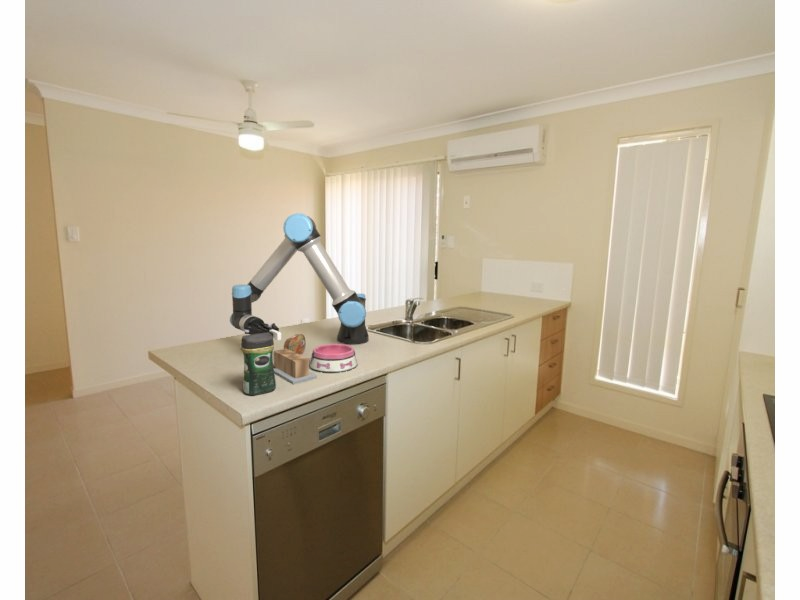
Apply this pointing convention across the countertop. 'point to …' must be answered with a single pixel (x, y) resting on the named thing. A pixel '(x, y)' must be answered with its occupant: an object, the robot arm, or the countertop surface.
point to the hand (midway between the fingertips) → (279, 336)
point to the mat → (292, 379)
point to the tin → (296, 343)
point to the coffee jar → (258, 363)
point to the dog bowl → (333, 358)
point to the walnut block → (291, 363)
